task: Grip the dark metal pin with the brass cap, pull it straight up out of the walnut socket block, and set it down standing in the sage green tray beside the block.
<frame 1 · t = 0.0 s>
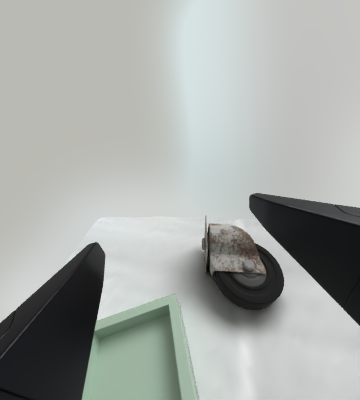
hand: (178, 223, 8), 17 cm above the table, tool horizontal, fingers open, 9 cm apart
caster wheel: (237, 271, 23), on the table
tray: (138, 383, 15), on the table
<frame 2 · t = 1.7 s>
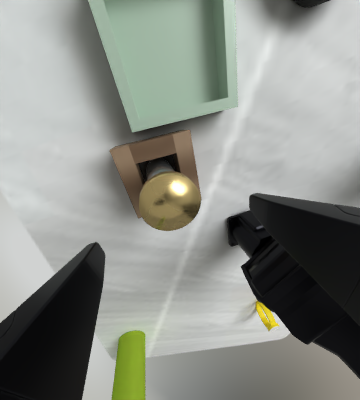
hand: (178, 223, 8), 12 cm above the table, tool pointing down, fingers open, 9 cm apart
socket block: (159, 170, 19), on the table
tray: (168, 59, 15), on the table
pin: (159, 170, 19), resting in socket block
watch: (257, 303, 41), on the table
soap dispenser: (131, 335, 35), on the table
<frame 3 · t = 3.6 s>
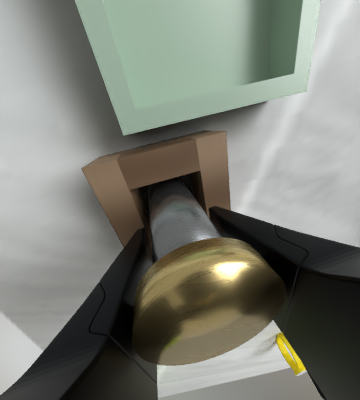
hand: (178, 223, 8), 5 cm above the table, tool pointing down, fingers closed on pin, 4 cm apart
socket block: (166, 191, 13), on the table
tray: (188, 6, 8), on the table
pin: (166, 191, 13), resting in socket block, touching gripper
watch: (278, 335, 35), on the table
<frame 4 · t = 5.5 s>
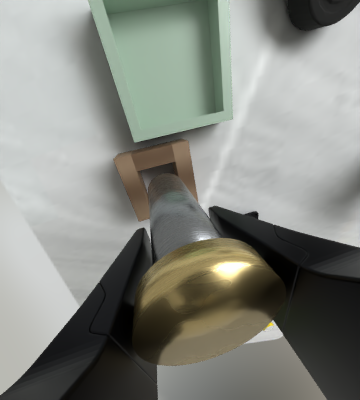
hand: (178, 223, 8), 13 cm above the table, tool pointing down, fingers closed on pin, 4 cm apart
socket block: (158, 176, 20), on the table
tray: (169, 74, 16), on the table
pin: (166, 191, 13), point 8 cm above the table, touching gripper
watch: (253, 303, 42), on the table
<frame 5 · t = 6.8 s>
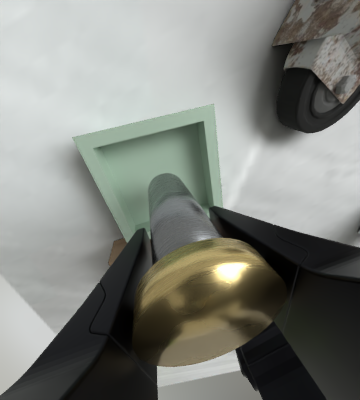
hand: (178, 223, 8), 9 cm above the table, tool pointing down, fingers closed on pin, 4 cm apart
caster wheel: (306, 67, 15), on the table
tray: (161, 176, 16), on the table
pin: (166, 191, 13), point 4 cm above the table, touching gripper
when the fingers open (7 cm above the table, at t = 7.8 s): pin drops 1 cm, resting on tray.
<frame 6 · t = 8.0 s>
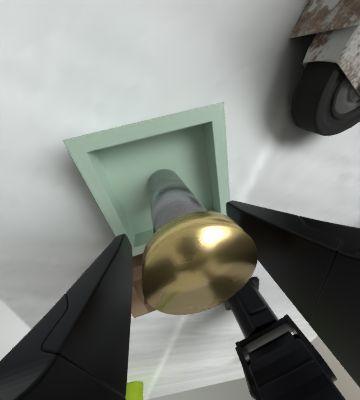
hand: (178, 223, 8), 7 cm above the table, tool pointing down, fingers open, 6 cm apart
caster wheel: (325, 64, 14), on the table
socket block: (155, 262, 20), on the table
tray: (163, 181, 15), on the table
pin: (164, 185, 14), point 1 cm above the table, touching tray
soap dispenser: (129, 385, 35), on the table
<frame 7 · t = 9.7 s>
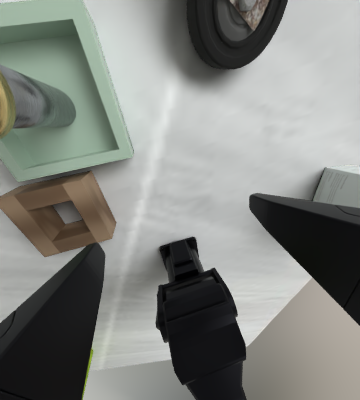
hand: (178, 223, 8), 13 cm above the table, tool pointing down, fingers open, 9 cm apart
socket block: (73, 206, 19), on the table
tray: (61, 108, 15), on the table
skincare box: (327, 184, 28), on the table
pin: (56, 107, 14), point 1 cm above the table, touching tray
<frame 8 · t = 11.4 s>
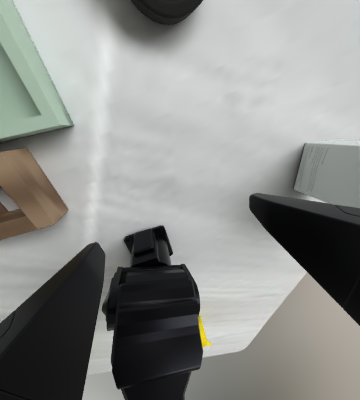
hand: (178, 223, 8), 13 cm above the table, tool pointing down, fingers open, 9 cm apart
socket block: (14, 190, 17), on the table
skincare box: (310, 164, 25), on the table
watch: (197, 318, 39), on the table
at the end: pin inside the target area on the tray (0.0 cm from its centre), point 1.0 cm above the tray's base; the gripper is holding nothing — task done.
